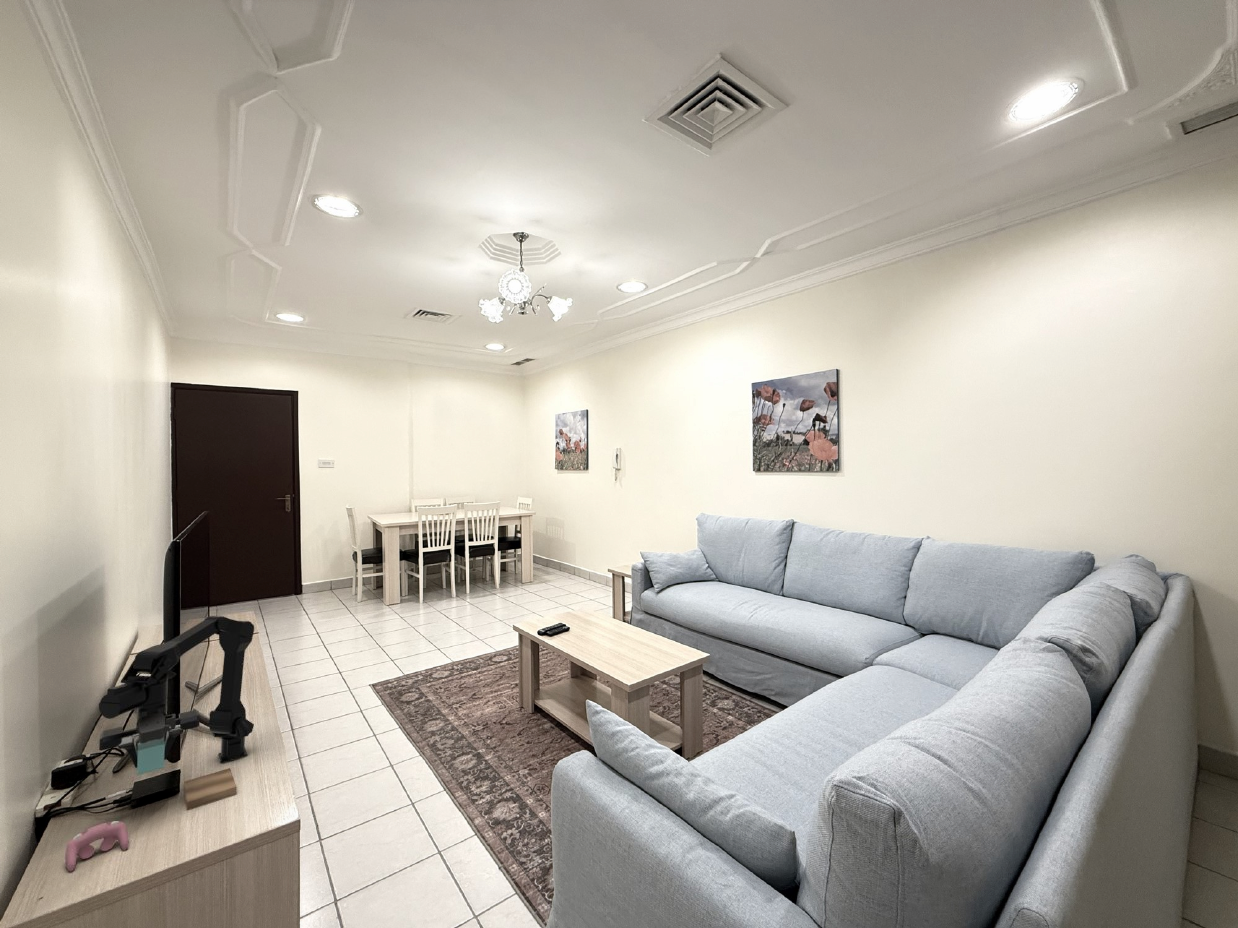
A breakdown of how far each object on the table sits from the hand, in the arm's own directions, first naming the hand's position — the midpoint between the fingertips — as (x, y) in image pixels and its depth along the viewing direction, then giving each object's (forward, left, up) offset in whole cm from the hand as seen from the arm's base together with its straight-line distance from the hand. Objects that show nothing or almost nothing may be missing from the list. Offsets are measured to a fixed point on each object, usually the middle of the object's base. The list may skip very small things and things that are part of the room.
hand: (150, 763), depth 134 cm
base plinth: (+2, +12, -11) cm, 16 cm away
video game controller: (+15, -9, -11) cm, 21 cm away
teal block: (0, 0, -1) cm, 1 cm away
